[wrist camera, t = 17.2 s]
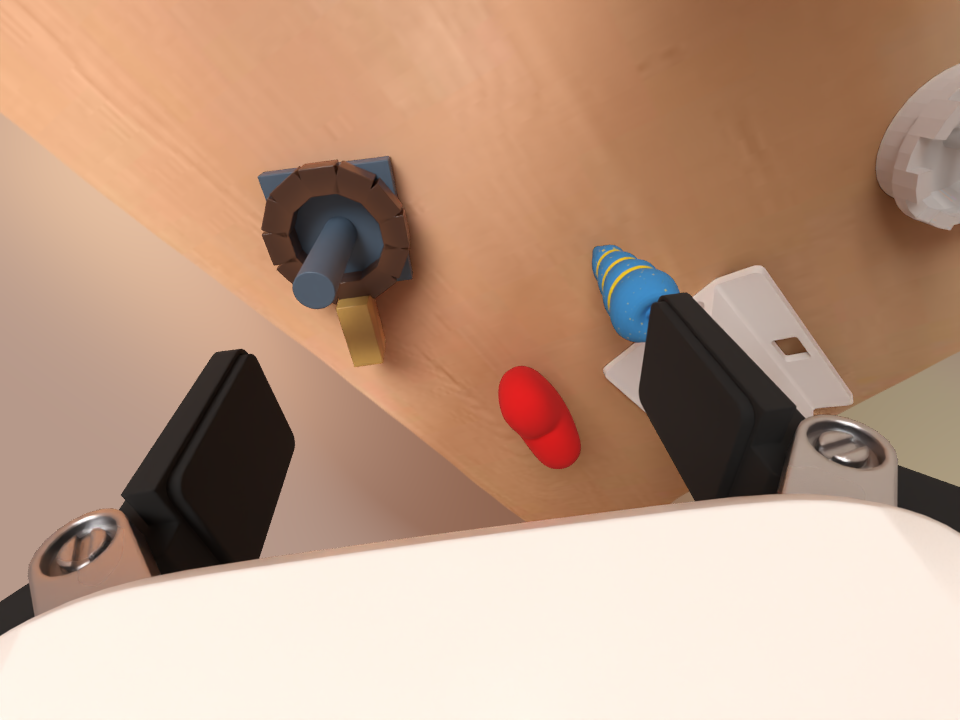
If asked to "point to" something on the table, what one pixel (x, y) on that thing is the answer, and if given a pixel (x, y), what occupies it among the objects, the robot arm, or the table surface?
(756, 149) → the table surface
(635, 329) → the ornament
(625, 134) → the table surface
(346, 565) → the robot arm
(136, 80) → the table surface
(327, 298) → the peg rack
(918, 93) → the flag stand
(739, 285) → the tablet stand
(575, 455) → the heart
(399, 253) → the walnut ring
